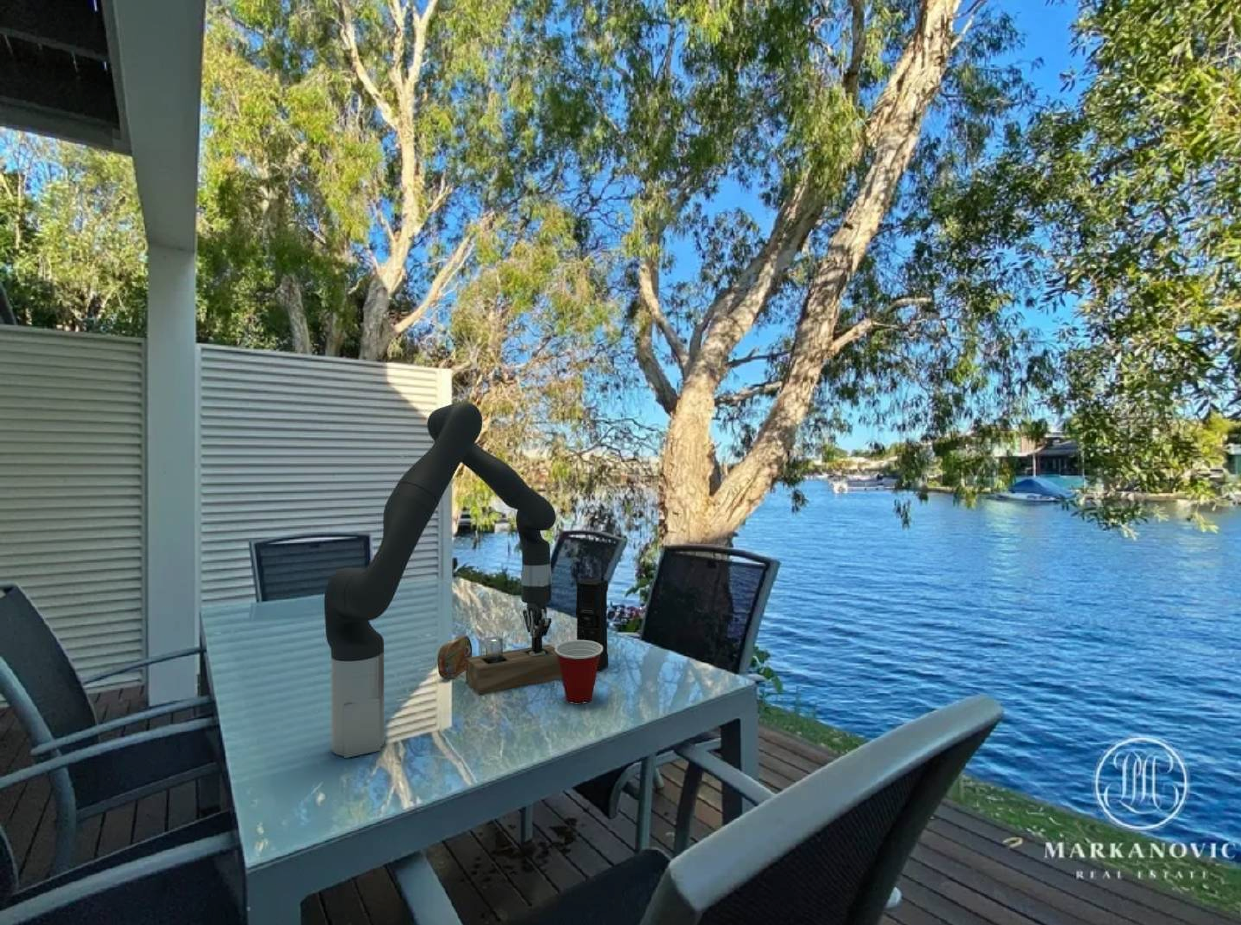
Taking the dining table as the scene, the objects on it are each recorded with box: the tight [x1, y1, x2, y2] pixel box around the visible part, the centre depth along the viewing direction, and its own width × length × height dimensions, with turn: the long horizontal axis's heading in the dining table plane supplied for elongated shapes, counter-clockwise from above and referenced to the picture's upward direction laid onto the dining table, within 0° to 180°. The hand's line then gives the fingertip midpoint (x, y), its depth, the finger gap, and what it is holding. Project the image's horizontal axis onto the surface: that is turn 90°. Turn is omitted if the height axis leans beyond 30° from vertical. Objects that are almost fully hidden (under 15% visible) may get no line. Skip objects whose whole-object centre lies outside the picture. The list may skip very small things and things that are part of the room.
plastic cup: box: [554, 639, 603, 703], centre depth 144 cm, size 11×11×12 cm
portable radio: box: [575, 570, 609, 672], centre depth 167 cm, size 8×6×25 cm
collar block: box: [465, 644, 562, 696], centre depth 157 cm, size 10×22×6 cm, turn 121°
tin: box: [436, 635, 473, 680], centre depth 164 cm, size 15×3×8 cm, turn 168°
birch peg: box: [529, 651, 545, 656], centre depth 160 cm, size 4×4×6 cm
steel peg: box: [485, 636, 504, 664], centre depth 155 cm, size 4×4×6 cm
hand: (537, 651), depth 160 cm, fingers closed
